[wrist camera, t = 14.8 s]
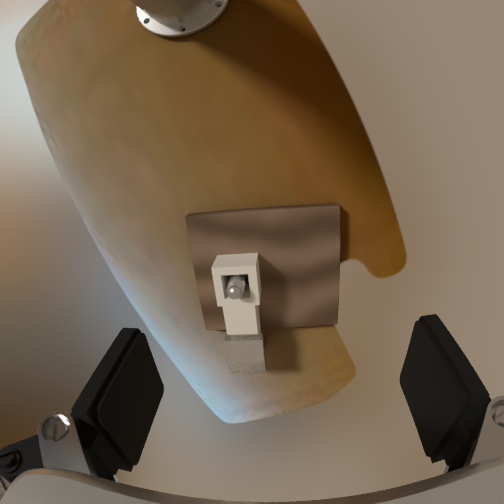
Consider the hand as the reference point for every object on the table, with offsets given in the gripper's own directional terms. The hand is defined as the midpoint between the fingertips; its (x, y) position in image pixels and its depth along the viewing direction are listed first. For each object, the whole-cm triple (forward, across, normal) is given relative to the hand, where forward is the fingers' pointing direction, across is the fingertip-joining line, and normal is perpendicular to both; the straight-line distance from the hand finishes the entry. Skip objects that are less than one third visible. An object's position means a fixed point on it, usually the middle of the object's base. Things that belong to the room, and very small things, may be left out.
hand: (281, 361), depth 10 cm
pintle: (+28, +5, +10) cm, 30 cm away
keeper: (+29, +5, +21) cm, 36 cm away
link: (+28, +5, +14) cm, 31 cm away
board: (+29, +2, +11) cm, 31 cm away
